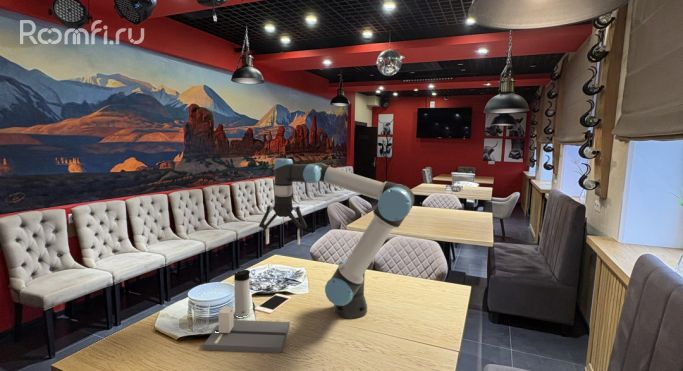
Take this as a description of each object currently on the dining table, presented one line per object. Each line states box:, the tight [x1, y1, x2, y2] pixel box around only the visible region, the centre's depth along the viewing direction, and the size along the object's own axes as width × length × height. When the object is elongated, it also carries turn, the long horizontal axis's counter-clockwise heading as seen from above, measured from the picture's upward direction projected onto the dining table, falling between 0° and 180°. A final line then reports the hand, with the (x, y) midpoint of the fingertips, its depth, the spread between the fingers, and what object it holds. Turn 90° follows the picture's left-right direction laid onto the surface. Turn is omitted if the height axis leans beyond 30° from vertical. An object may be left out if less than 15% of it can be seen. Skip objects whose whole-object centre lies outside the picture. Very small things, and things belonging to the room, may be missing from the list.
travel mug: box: [233, 269, 251, 317], centre depth 149 cm, size 6×7×20 cm
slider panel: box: [203, 319, 291, 354], centre depth 133 cm, size 28×18×2 cm, turn 88°
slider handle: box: [217, 305, 235, 333], centre depth 133 cm, size 4×5×10 cm
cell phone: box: [254, 293, 292, 315], centre depth 162 cm, size 9×18×1 cm, turn 156°
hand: (283, 243), depth 149 cm, fingers open, 13 cm apart
